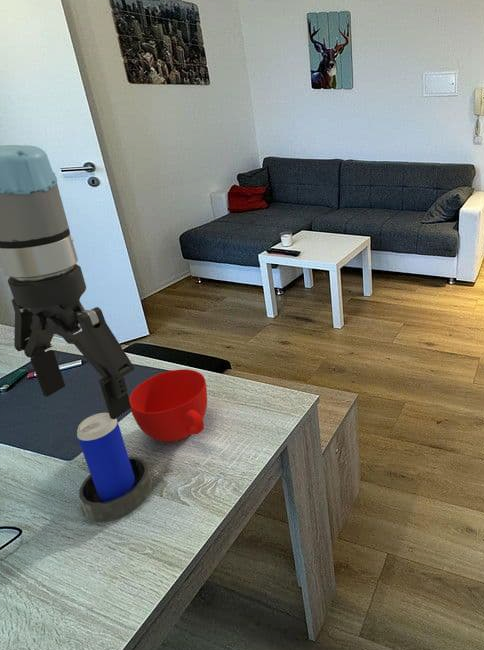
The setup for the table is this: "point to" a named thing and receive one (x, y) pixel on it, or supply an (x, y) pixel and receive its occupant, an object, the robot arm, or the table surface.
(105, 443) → the beverage can
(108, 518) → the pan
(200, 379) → the ceramic cup
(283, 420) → the table surface
